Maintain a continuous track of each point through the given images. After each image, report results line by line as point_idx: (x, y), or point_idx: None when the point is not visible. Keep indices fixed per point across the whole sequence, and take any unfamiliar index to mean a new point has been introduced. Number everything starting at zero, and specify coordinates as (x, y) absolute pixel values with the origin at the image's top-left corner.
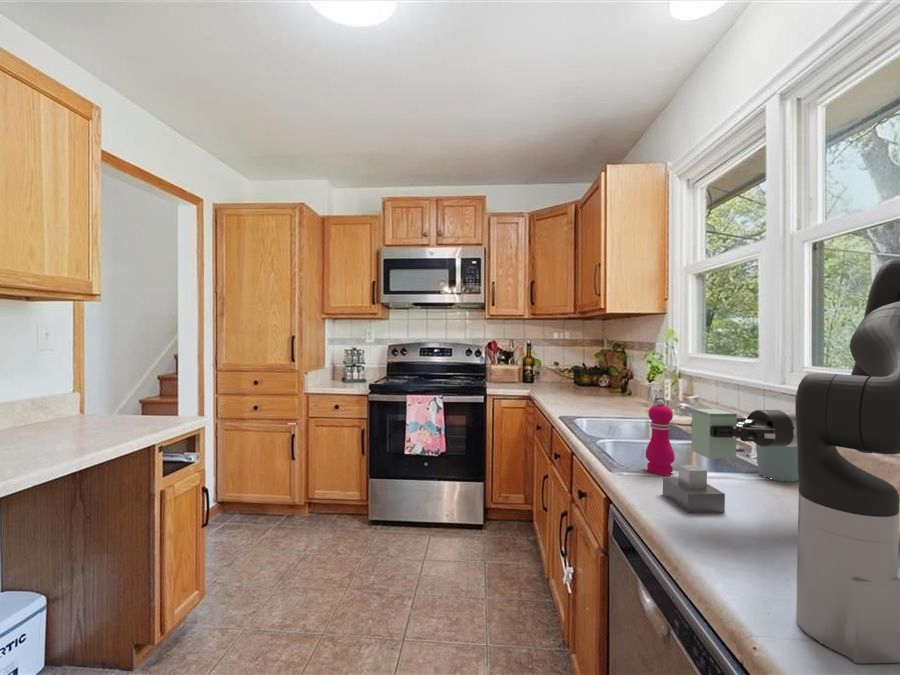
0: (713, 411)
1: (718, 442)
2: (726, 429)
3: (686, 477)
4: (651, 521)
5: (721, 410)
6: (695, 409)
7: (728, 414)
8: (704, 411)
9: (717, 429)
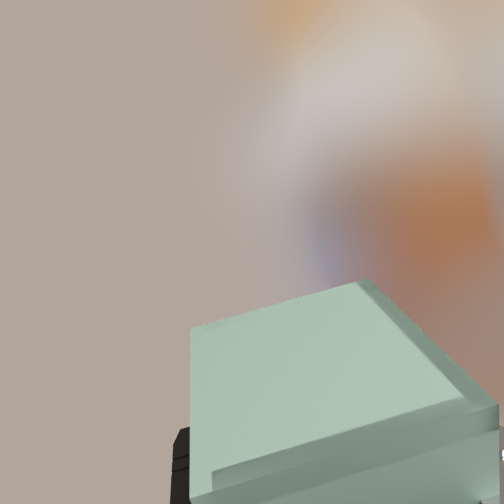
0: (284, 352)
1: None
2: (171, 481)
3: None
4: None
5: (375, 413)
6: (341, 288)
7: (193, 429)
8: (270, 315)
9: (180, 432)
